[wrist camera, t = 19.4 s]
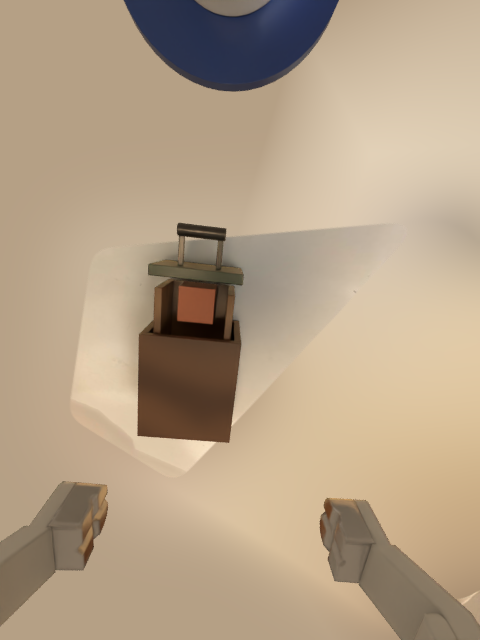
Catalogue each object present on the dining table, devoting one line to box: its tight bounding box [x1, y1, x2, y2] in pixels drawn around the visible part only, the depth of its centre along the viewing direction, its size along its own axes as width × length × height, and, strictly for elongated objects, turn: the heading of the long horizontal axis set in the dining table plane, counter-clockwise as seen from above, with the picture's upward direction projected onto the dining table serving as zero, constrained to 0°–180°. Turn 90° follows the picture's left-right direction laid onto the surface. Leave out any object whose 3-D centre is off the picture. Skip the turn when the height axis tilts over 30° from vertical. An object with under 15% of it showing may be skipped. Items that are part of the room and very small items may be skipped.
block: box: [177, 281, 217, 324], centre depth 35 cm, size 4×4×4 cm
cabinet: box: [138, 320, 241, 443], centre depth 37 cm, size 14×12×10 cm
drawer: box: [148, 223, 244, 341], centre depth 35 cm, size 17×10×8 cm, turn 174°
